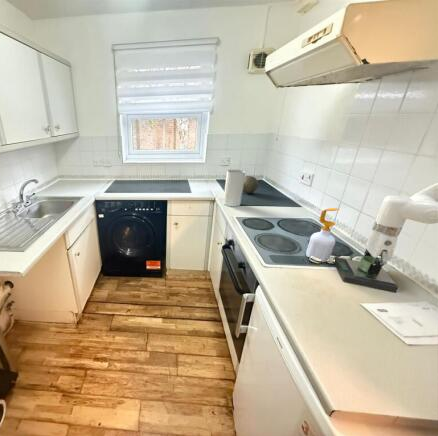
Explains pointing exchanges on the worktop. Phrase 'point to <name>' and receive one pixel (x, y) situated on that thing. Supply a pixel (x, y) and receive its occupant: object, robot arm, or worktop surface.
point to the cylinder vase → (233, 187)
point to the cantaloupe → (250, 184)
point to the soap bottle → (322, 240)
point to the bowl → (366, 263)
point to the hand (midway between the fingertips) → (369, 268)
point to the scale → (363, 275)
